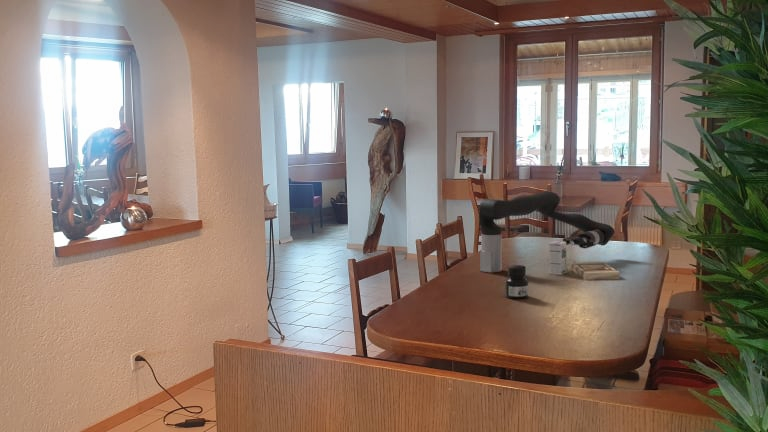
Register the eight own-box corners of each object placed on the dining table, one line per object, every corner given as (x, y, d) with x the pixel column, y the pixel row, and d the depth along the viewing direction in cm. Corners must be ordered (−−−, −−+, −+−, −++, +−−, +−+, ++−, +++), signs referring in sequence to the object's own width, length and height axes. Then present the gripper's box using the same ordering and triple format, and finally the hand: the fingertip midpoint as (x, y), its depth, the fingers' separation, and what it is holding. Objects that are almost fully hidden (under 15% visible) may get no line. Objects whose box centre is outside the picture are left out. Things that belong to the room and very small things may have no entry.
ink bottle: (510, 300, 270) (510, 269, 268) (500, 295, 278) (500, 265, 277) (533, 298, 273) (533, 267, 271) (522, 293, 281) (522, 263, 279)
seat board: (619, 278, 303) (619, 271, 303) (584, 279, 303) (584, 272, 302) (602, 268, 325) (603, 261, 324) (570, 269, 325) (570, 262, 324)
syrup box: (561, 275, 312) (561, 243, 311) (548, 274, 316) (549, 242, 314) (566, 273, 317) (566, 241, 315) (554, 271, 320) (554, 240, 319)
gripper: (602, 248, 331) (585, 253, 319) (574, 245, 340) (557, 250, 329) (602, 232, 330) (585, 237, 318) (574, 230, 339) (557, 234, 328)
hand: (571, 244), depth 323 cm, fingers open, 8 cm apart
